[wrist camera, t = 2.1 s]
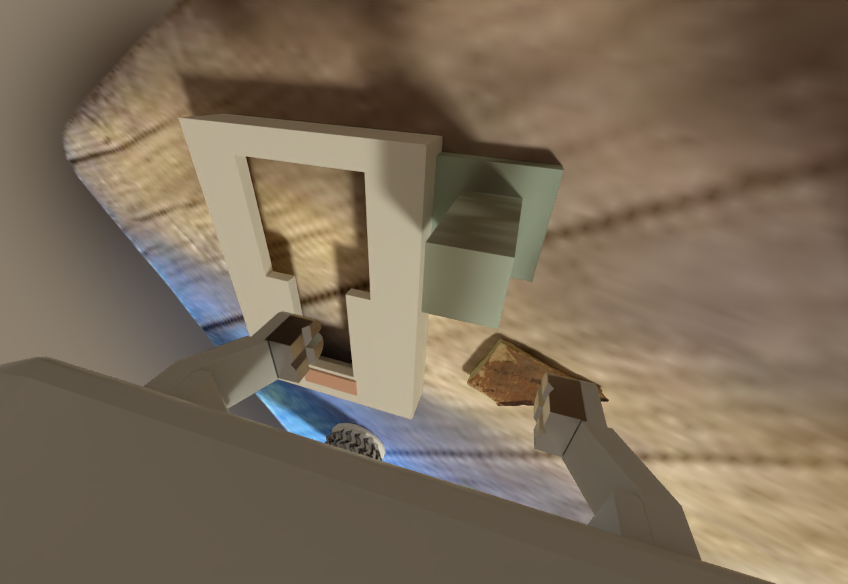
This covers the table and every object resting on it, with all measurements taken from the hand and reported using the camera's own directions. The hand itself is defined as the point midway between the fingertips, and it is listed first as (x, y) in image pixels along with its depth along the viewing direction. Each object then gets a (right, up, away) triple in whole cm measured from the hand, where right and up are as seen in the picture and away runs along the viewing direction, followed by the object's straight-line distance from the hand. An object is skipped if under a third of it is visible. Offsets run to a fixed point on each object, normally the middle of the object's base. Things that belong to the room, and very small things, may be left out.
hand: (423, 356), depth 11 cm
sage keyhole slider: (+5, +8, +12) cm, 16 cm away
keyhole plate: (-8, +4, +19) cm, 21 cm away
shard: (+10, -4, +19) cm, 22 cm away
